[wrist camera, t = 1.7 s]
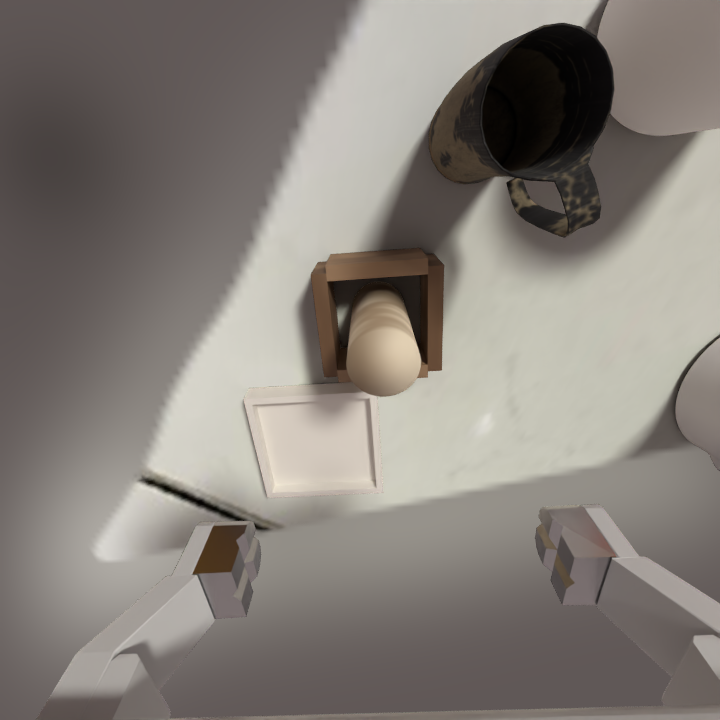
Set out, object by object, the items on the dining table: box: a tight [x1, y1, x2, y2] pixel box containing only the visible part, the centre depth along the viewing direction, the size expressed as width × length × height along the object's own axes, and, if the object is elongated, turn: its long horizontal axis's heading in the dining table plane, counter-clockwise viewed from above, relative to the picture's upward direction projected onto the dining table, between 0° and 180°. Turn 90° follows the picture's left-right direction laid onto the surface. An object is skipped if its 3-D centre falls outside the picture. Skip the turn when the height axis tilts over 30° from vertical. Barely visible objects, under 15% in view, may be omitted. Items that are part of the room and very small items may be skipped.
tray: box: [243, 382, 383, 498], centre depth 34 cm, size 11×11×2 cm
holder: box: [311, 248, 444, 382], centre depth 27 cm, size 8×8×4 cm
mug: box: [429, 23, 614, 238], centre depth 19 cm, size 8×6×12 cm
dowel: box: [346, 282, 421, 396], centre depth 25 cm, size 4×4×10 cm
